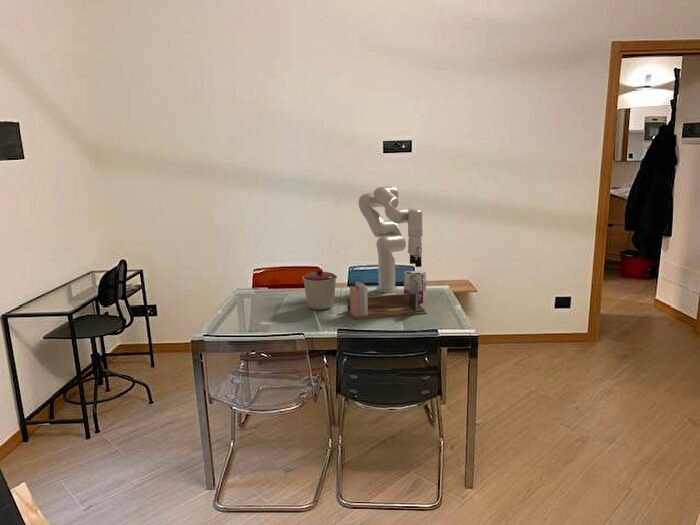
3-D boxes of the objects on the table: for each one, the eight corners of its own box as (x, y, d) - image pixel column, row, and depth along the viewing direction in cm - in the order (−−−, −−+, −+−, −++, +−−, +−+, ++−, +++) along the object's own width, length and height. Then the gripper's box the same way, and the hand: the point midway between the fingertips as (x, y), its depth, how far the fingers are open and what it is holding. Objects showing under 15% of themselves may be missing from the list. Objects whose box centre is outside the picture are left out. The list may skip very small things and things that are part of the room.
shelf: (347, 311, 271) (347, 298, 270) (417, 305, 278) (417, 293, 277) (353, 319, 257) (353, 306, 256) (426, 313, 264) (426, 300, 262)
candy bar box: (426, 301, 286) (426, 271, 283) (423, 303, 282) (423, 273, 279) (406, 299, 291) (406, 270, 288) (403, 301, 287) (403, 271, 284)
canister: (333, 312, 269) (332, 272, 265) (299, 311, 273) (297, 271, 268) (341, 303, 286) (340, 265, 282) (308, 302, 290) (307, 264, 286)
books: (350, 310, 269) (349, 282, 266) (363, 309, 270) (363, 281, 267) (354, 316, 259) (353, 286, 256) (368, 315, 260) (367, 285, 257)
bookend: (409, 306, 274) (409, 277, 271) (418, 305, 274) (418, 277, 272) (415, 311, 264) (415, 282, 261) (424, 310, 265) (425, 281, 262)
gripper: (403, 231, 287) (404, 263, 290) (413, 235, 270) (413, 268, 273) (416, 231, 288) (417, 262, 291) (427, 234, 272) (427, 267, 275)
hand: (415, 265), depth 282 cm, fingers open, 9 cm apart
